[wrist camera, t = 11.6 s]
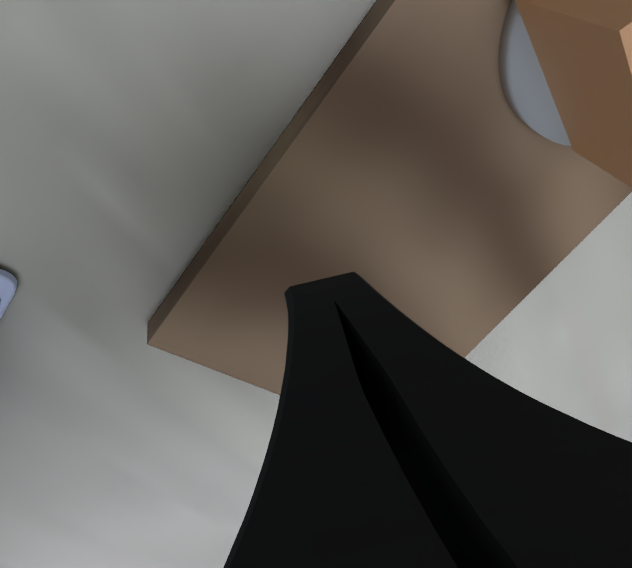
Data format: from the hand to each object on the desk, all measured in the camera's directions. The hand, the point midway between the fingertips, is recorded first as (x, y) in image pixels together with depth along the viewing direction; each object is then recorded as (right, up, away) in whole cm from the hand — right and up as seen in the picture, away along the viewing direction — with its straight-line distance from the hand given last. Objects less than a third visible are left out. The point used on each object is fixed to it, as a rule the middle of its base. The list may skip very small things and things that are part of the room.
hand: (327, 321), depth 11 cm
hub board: (+4, +4, +10) cm, 12 cm away
